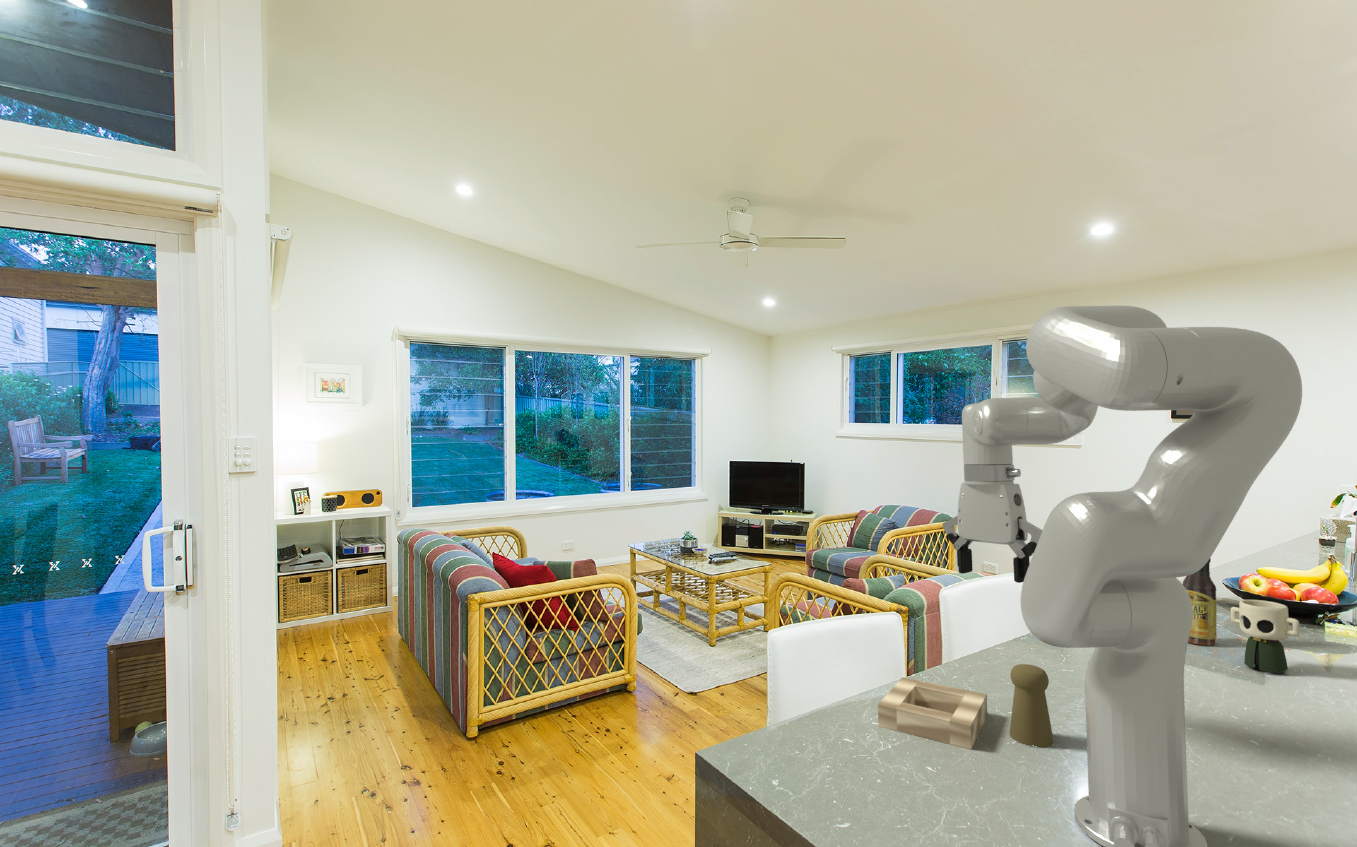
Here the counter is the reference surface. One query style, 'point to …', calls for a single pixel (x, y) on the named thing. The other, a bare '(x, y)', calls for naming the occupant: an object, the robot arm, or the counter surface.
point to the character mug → (1265, 633)
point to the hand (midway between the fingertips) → (992, 576)
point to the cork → (1030, 707)
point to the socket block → (934, 712)
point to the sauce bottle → (1202, 606)
